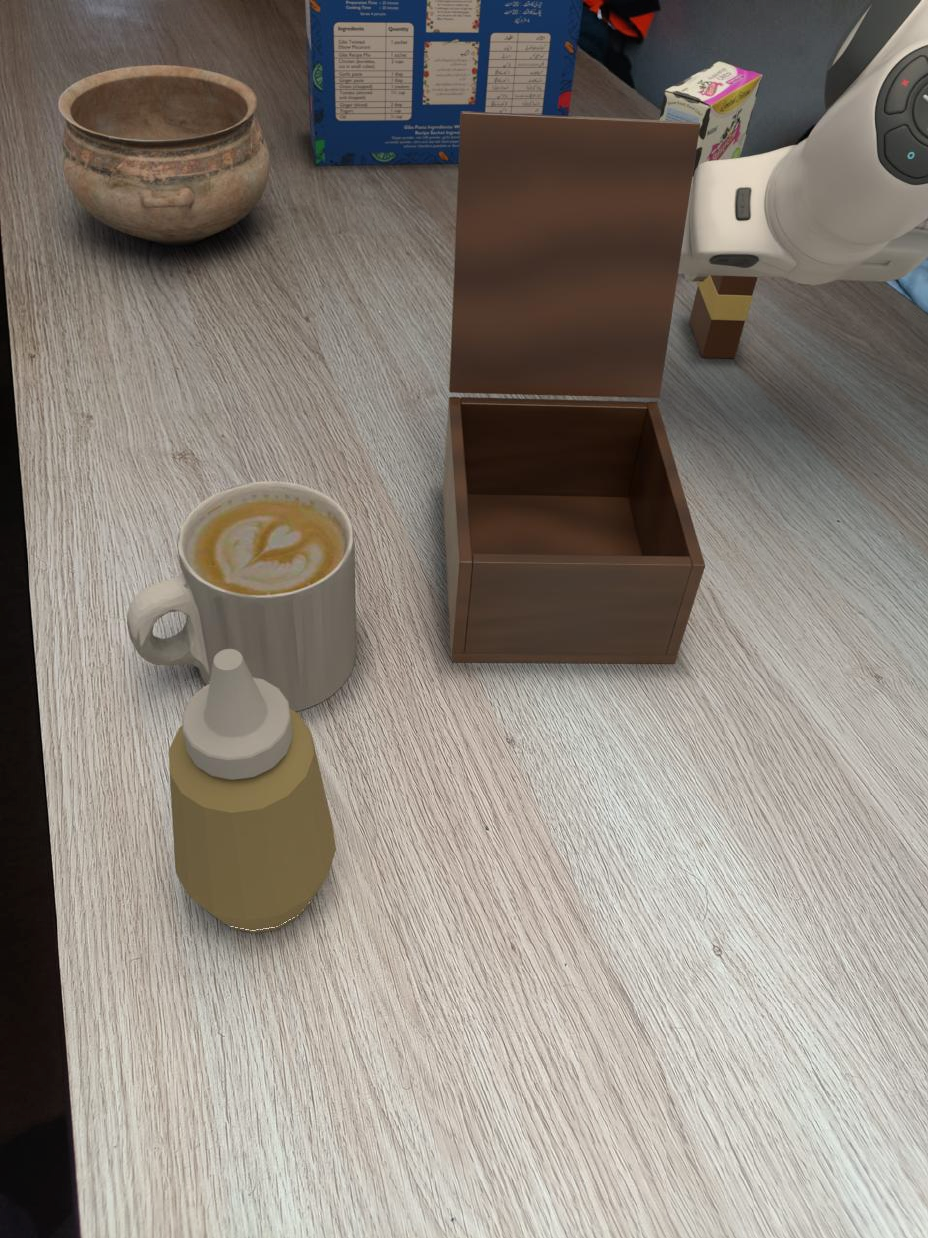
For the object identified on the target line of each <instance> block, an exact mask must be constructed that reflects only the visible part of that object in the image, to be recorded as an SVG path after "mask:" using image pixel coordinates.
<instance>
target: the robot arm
mask: <svg viewBox="0 0 928 1238" xmlns="http://www.w3.org/2000/svg"><path fill="white" fill-rule="evenodd" d="M825 72H826V73H825V81H824V95H823V98H824V100H823V102H824V109H825V111H826V112H825V114H823V115H822V117H821V118H820V119H819V121H818V122H817V123H816V124H815V126H814V127H813V128H812V130H811V131H810V133H809V135H808V136H807V137H806V138H804V139H803V140H802V141H800V142H798V143H797V144H792V145H788V146H784V147H781V148H778V149H775V150H771V151H768V152H764V153H759V154H754V155H747V156H740V157H739V158H731V159H722V160H714V161H708V162H704V163H702V164H700V165H699V166H698V167H697V168H696V170H695V173H694V179H693V184H692V185H691V190H690V197H689V204H688V210H687V217H686V224H685V231H684V237H683V244H682V251H681V257H680V264H679V271H678V275H684V280H685V282H694V283H695V282H697V283H698V282H703V281H704V279H707V278H708V277H709V275H719V276H745V277H758V278H775V279H785V280H788V281H790V282H794V283H796V284H797V285H799V286H805V287H806V286H807V287H817V286H819V285H824V284H828V283H832V282H834V281H851V282H852V281H854V282H855V281H856V282H876V283H877V282H878V283H884V282H885V283H886V282H892V281H896V280H901V279H903V278H905V277H906V276H907V275H909V274H911V272H913V271H914V270H915V269H917V268H918V267H919V266H920V265H921V264H922V263H923V262H924V261H925V260H926V259H927V257H928V0H870V1H869V2H868V3H867V4H866V5H865V7H863V9H862V10H861V11H860V13H858V15H857V16H856V18H854V20H853V21H852V22H851V24H850V25H849V27H848V28H847V30H846V31H845V32H844V34H843V36H841V39H840V40H839V42H838V44H837V46H836V47H835V49H834V51H833V53H832V54H831V57H830V59H829V61H828V63H827V66H826V71H825Z"/></svg>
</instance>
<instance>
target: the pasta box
mask: <svg viewBox="0 0 928 1238" xmlns="http://www.w3.org/2000/svg"><path fill="white" fill-rule="evenodd" d="M583 6H584V0H304V13H305V14H304V15H305V16H304V17H305V37H306V40H305V41H306V62H307V63H306V65H307V66H306V67H307V88H308V89H307V90H308V91H307V92H308V109H309V111H308V112H309V113H308V115H309V137H310V141H311V147H312V151H313V156H314V162H315V165H316V166H317V167H320V166H321V167H322V166H323V167H324V166H379V165H381V166H383V165H384V166H386V165H387V166H388V165H389V166H390V165H391V166H392V165H445V164H446V165H449V164H450V165H451V164H455V165H457V164H458V163H459V139H460V116H461V111H471V112H492V113H514V114H535V115H557V116H570V107H571V100H572V91H573V84H574V77H575V70H576V61H577V55H578V54H577V52H578V45H579V37H580V30H581V24H582V23H581V21H582V15H583Z"/></svg>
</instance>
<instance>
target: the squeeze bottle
mask: <svg viewBox="0 0 928 1238" xmlns="http://www.w3.org/2000/svg"><path fill="white" fill-rule="evenodd" d="M181 717H182V718H181V719H182V720H181V721H182V725H181V726H180V727H179V728H178V730H177V732H176V734H175V736H174V738H173V740H172V742H171V744H170V747H169V748H168V766H169V768H168V770H169V785H170V788H169V789H170V802H171V819H172V835H173V836H172V837H173V850H174V868H175V874H176V876H177V878H178V879H179V881H180V883H181V885H182V887H183V888H184V890H185V892H186V894H187V896H188V898H190V899H191V900H192V901H193V902H195V903H196V904H197V905H199V906H200V907H201V908H203V909H204V910H205V911H207V912H208V913H210V915H212V916H213V917H215V918H216V917H217V918H216V919H217V920H219V919H220V920H219V921H220V922H222V923H223V924H225V925H226V926H228V925H229V926H228V927H229V928H230V929H232V930H235V931H240V932H245V933H249V934H250V933H251V934H259V933H264V932H271V931H278V930H279V929H281V928H283V927H284V926H286V925H288V924H290V923H291V922H293V921H295V920H297V919H298V918H299V917H300V916H301V915H302V913H303V912H304V911H305V910H306V909H307V908H308V906H309V905H310V904H311V903H312V901H313V900H314V898H315V896H316V895H317V893H318V892H319V890H320V889H321V887H322V886H323V884H324V883H325V881H326V880H327V878H328V877H329V873H330V870H331V867H332V864H333V861H334V857H335V854H336V851H337V846H336V845H337V844H336V839H335V832H334V826H333V820H332V815H331V812H330V806H329V803H328V798H327V794H326V790H325V786H324V781H323V777H322V772H321V768H320V765H319V760H318V756H317V752H316V747H315V743H314V739H313V735H312V734H313V733H312V731H311V730H310V728H309V727H308V726H307V724H306V722H305V721H304V720H303V718H302V717H301V715H300V714H299V713H298V712H297V711H296V712H295V711H293V710H291V709H290V708H289V702H288V701H287V699H286V698H285V696H284V695H283V694H282V692H281V691H280V689H279V688H277V687H275V686H274V685H272V684H270V683H268V682H267V681H265V680H263V679H258V678H253V677H252V675H251V673H250V671H249V669H248V667H247V665H246V663H245V661H244V659H243V656H242V655H241V653H240V652H238V651H237V650H234V649H225V650H222V651H220V652H218V653H217V654H216V655H215V657H214V660H213V666H212V672H211V678H210V684H208V685H206V684H205V685H204V686H203V687H201V688H200V689H199V690H198V691H197V692H196V693H195V694H193V695H192V696H191V698H189V699H188V702H187V704H186V706H185V708H184V711H183V713H182V715H181ZM309 902H310V903H309ZM308 903H309V904H308ZM303 909H304V910H303ZM302 910H303V911H302ZM297 915H298V916H297ZM293 917H295V918H293ZM292 918H293V919H292ZM289 919H291V920H289ZM288 920H289V921H288ZM286 921H287V922H286ZM284 922H286V923H284ZM283 923H284V924H283ZM281 924H282V925H281ZM279 925H280V926H279ZM230 926H234V927H230ZM276 926H278V927H276ZM235 927H238V928H235ZM269 927H275V928H269ZM240 928H244V929H240ZM263 928H269V929H263ZM245 929H249V930H245ZM256 929H263V930H256ZM250 930H256V931H250Z"/></svg>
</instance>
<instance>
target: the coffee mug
mask: <svg viewBox="0 0 928 1238" xmlns="http://www.w3.org/2000/svg"><path fill="white" fill-rule="evenodd" d="M176 542H177V544H176V547H177V556H178V561H179V565H180V569H181V574H180V575H177V576H176V577H172V578H168V579H166V580H162V581H158V582H156V583H153V584H151V585H149V586H147V587H145V588H143V589H142V590H141V591H139V592H138V593H137V594H135V596H134V598H132V600H131V602H130V603H129V606H128V608H127V609H128V610H127V614H126V624H127V631H128V634H129V638H130V641H131V643H132V645H133V647H134V649H135V651H136V652H137V653H138V655H139V656H140V657H141V658H142V659H143V660H144V661H146V662H148V663H150V664H152V665H154V666H161V667H162V666H163V667H173V666H185V665H187V666H194V667H196V668H197V669H198V671H199V674H200V676H201V678H202V682H204V684H205V686H206V685H208V684H210V683H209V682H210V678H211V672H212V666H213V660H214V657H215V655H216V654H217V653H218V652H220V651H222V650H225V649H234V650H237V651H238V652H240V653H241V655H242V656H243V659H244V661H245V663H246V665H247V667H248V669H249V671H250V673H251V675H252V677H253V678H258V679H263V680H265V681H267V682H268V683H270V684H272V685H274V686H275V687H277V688H279V689H280V691H281V692H282V694H283V695H284V696H285V698H286V699H287V701H288V702H289V708H290V709H291V710H293V711H295V712H296V713H297V712H300V711H304V710H307V709H309V708H312V707H314V706H317V705H319V704H321V703H322V702H325V701H326V700H327V699H329V698H331V697H332V696H333V695H334V694H336V693H337V692H338V691H339V690H340V689H341V688H342V687H343V686H344V685H345V683H346V682H347V680H348V679H349V677H350V676H351V674H352V672H353V670H354V668H355V664H356V661H357V660H356V658H357V608H356V607H357V605H356V603H357V602H356V552H355V551H356V550H355V549H356V547H355V544H356V543H355V533H354V529H353V524H352V521H351V520H350V518H349V515H348V514H347V513H346V510H345V509H344V508H343V507H342V506H341V505H340V504H339V503H338V502H337V501H335V500H334V499H332V497H330V496H329V495H326V494H325V493H323V492H322V491H319V490H317V489H314V488H312V487H309V486H306V485H303V484H299V483H294V482H288V481H280V480H279V481H277V480H274V481H273V480H272V481H271V480H264V481H252V482H247V483H242V484H238V485H233V486H231V487H228V488H226V489H223V490H221V491H218V492H215V493H214V494H212V495H211V496H208V497H207V498H205V499H204V500H203V501H201V502H200V503H198V504H197V505H196V506H194V508H193V509H192V510H191V511H190V512H189V513H188V515H187V516H186V517H185V518H184V520H183V522H182V524H181V526H180V527H179V531H178V534H177V541H176ZM176 612H179V613H182V614H184V615H186V617H185V618H186V619H185V620H186V621H185V623H184V625H183V628H182V629H181V630H180V631H179V632H177V633H176V634H175V635H172V636H169V637H166V638H163V637H161V638H160V637H158V636H155V635H154V632H153V631H154V627H155V624H156V623H157V621H158V620H159V619H161V618H162V617H164V616H166V615H167V614H168V613H176ZM208 681H209V682H208Z"/></svg>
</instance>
